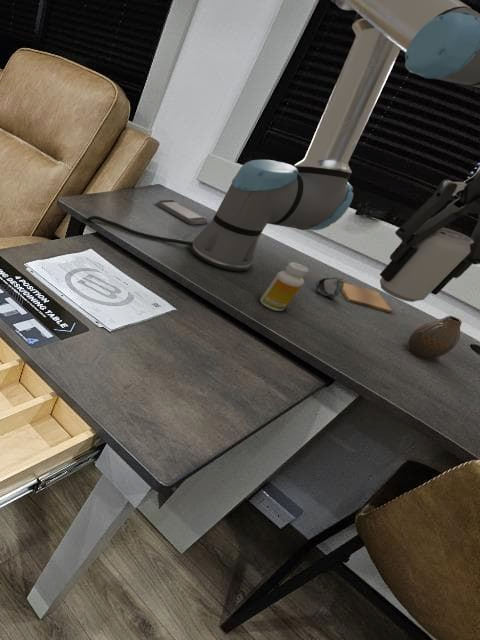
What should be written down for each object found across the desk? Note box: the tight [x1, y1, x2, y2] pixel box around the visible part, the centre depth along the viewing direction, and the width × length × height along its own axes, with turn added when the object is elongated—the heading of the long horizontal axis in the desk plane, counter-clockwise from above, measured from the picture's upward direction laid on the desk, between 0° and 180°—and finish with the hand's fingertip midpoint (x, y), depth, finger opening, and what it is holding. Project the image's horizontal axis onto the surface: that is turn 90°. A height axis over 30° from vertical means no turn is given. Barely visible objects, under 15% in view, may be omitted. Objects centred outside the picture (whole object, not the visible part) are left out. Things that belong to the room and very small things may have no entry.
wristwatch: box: [315, 276, 345, 298], centre depth 110 cm, size 3×5×5 cm
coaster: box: [341, 282, 393, 313], centre depth 114 cm, size 10×10×1 cm
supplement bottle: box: [259, 261, 309, 312], centre depth 100 cm, size 5×5×10 cm
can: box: [379, 227, 474, 303], centre depth 81 cm, size 8×8×12 cm
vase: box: [407, 315, 463, 359], centre depth 94 cm, size 7×7×9 cm
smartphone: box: [156, 199, 209, 226], centre depth 139 cm, size 7×1×15 cm
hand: (407, 284), depth 84 cm, fingers closed on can, 7 cm apart
